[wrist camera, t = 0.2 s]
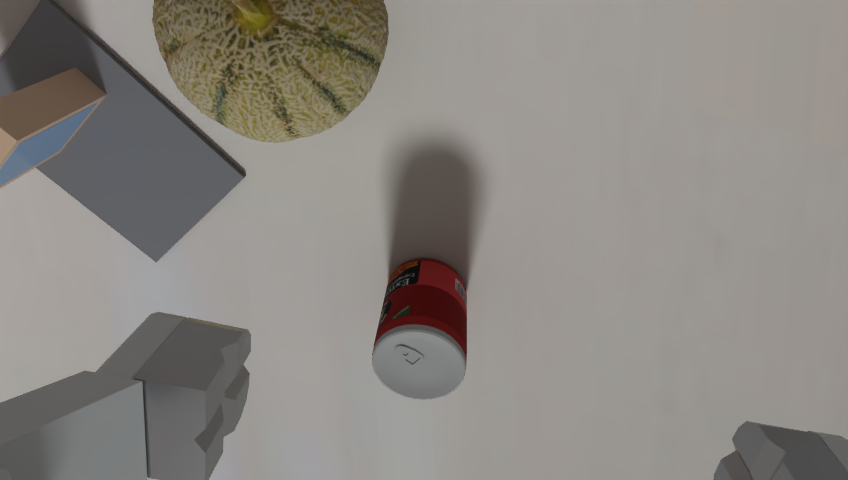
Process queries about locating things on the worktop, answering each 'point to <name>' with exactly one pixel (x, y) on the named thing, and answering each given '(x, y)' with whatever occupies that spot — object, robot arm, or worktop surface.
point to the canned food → (422, 331)
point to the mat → (121, 139)
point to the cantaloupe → (273, 60)
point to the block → (43, 120)
